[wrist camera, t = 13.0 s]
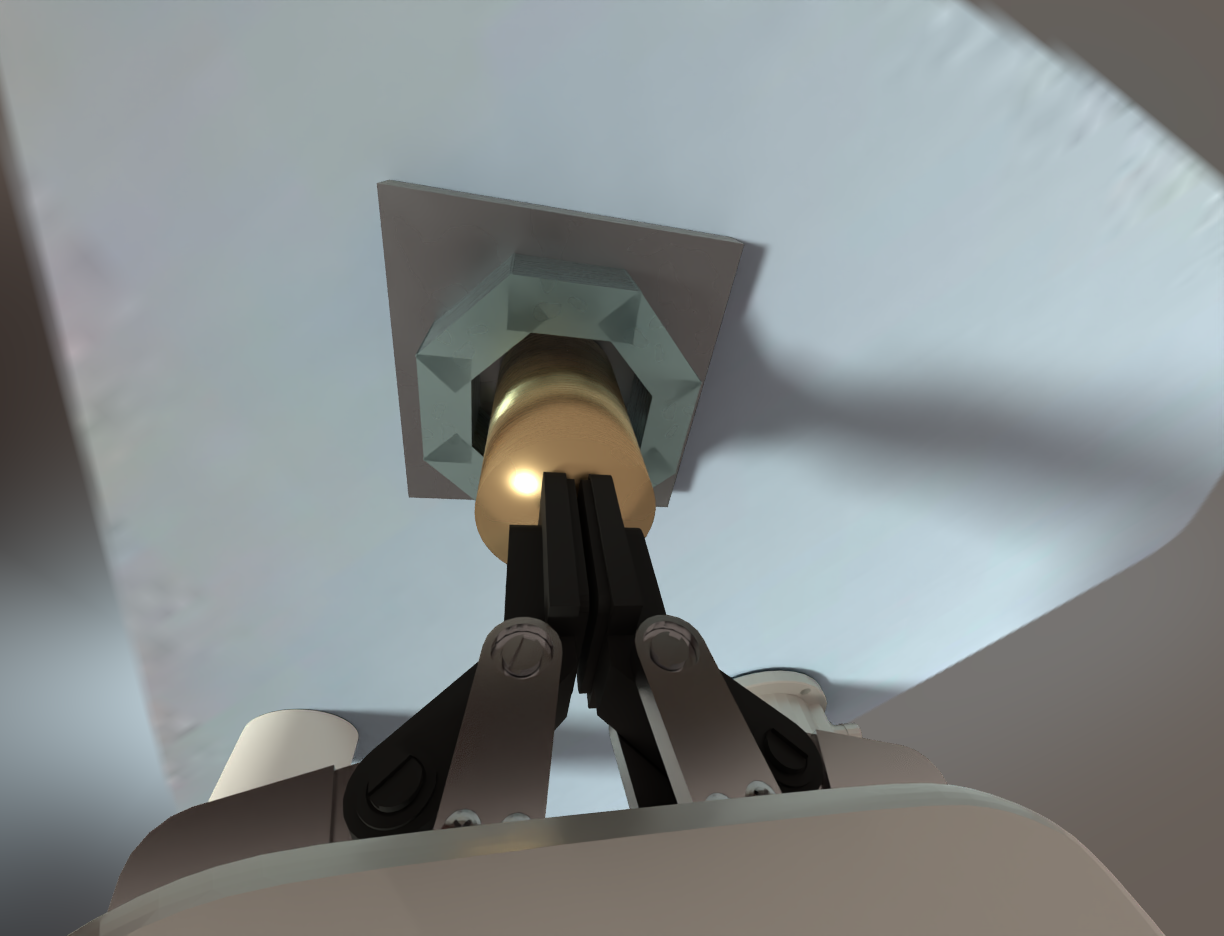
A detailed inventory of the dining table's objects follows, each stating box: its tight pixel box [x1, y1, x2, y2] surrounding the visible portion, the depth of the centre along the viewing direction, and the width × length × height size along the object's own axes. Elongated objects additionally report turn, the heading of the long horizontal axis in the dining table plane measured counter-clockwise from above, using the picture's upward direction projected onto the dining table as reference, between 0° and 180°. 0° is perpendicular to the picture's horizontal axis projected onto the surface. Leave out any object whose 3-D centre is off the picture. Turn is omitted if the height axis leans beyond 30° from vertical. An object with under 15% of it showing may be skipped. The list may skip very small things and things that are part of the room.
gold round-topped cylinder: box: [475, 333, 656, 564], centre depth 15 cm, size 5×5×8 cm
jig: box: [377, 180, 744, 507], centre depth 18 cm, size 12×12×4 cm
